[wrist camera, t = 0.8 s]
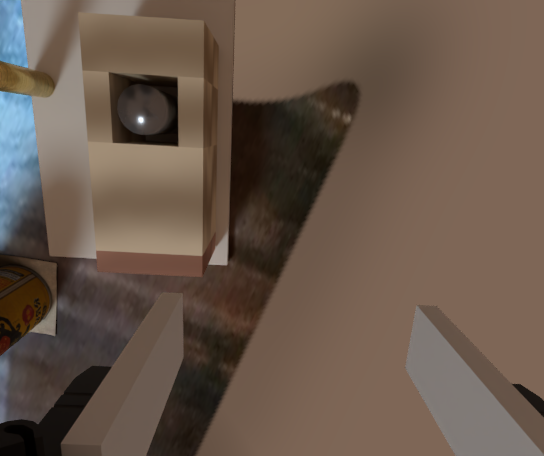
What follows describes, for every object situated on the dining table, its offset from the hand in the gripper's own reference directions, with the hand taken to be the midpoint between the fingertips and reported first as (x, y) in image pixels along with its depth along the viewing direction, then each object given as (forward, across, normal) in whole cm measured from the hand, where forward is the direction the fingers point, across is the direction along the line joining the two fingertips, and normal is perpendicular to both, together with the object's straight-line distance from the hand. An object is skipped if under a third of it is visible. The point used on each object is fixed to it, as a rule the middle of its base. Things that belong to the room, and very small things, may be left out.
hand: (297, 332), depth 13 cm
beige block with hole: (+16, -9, +5) cm, 19 cm away
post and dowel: (+17, -14, +9) cm, 24 cm away
